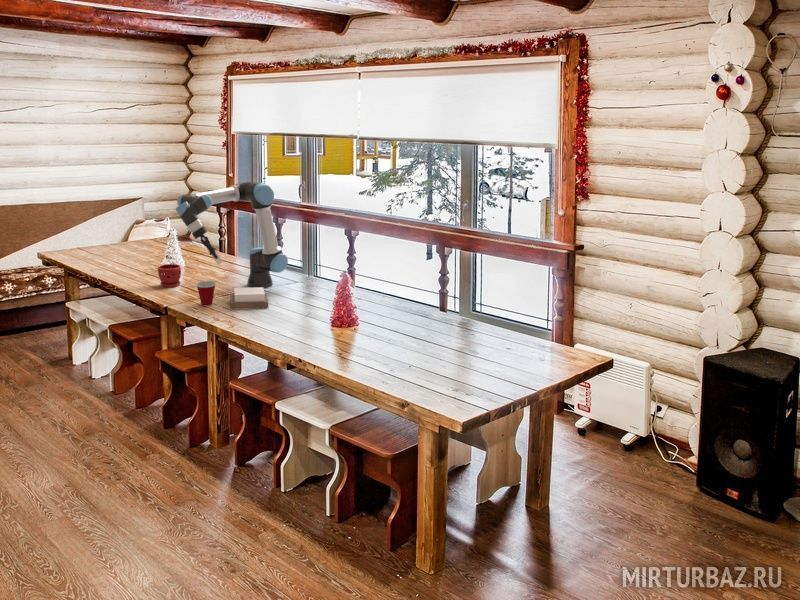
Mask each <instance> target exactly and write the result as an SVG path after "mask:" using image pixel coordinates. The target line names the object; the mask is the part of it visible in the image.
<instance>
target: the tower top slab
mask: <svg viewBox="0 0 800 600" xmlns="http://www.w3.org/2000/svg"><path fill="white" fill-rule="evenodd" d="M233 289H234V290H233V291H234V292H233V294H234V296H235V302H255V301H265V293H266V292H265V290H264V289H265V287H234V288H233Z"/></svg>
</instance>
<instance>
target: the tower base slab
mask: <svg viewBox="0 0 800 600" xmlns="http://www.w3.org/2000/svg"><path fill="white" fill-rule="evenodd" d="M264 293H265V301H255V302H235V296H234V293H231V294H230V310H236V309H235V308H249V309H268V308H269V298H268V294H267V293H266V292H264ZM263 307H264V308H263ZM267 307H268V308H267Z"/></svg>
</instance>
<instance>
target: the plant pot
mask: <svg viewBox="0 0 800 600" xmlns="http://www.w3.org/2000/svg"><path fill="white" fill-rule="evenodd" d="M157 273H158V278H159V280H160V284H159V285H161V287H164V288H176V287H178V286H180V285H181V281H180V279H181V277H182V276H181V274H182V267H181V265H180V264H177V263H176V264H174V263H168V264H162V265H159V266H158V267H157ZM175 286H176V287H175Z"/></svg>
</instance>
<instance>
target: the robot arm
mask: <svg viewBox="0 0 800 600" xmlns="http://www.w3.org/2000/svg"><path fill="white" fill-rule="evenodd" d="M274 198H275V191H274V189H273V188H272V187H271V186H270V185H269V184H265V183H263V182H254V181H246V182H240V183H236V184H232V185H230V186H228V187H226V188H225V187H224V188H220V189H214V190H210V191H209V190H208V191H204V192H197V193H194V194H193V193H192V194H181V195H179V196H178V197H177V200H176V201H177V202H176V204H177V205H178V206H176V207H175V211H176V214H178V216H179V217H180V219H181V220H182V222H183V223H184V224H185V226H186V230H189V232H190V233H191V235H192V236H193V238H194V239H195V240H197V239H199V238H200V242H201V243H202V244H203V246H204V247H206V248H207V250H208V251H209V256H212V258H213V259H214V261H215V263H216V264H217V265H220V264H222V263H223V260H222V258H221V257H220V255H219V254H218V252H217V251H216V250H217V249H216V247H214V246H212V244H211V242H210V241H211V240H209V238H208V236H206V235H205V234H206V233H207V232H208V230H207V229H206V228H205V226H204V225H203V223H202V221H201V220H200V218H199V215H200V214H202V213H203V212H205V211H207V210H208V209H209V208H211V207H212V205H216V204H220V203H226V202H232V201H233V202H247V203H250V204H251V209H253V210H254V211H255V213H256V214H255V215H256V220H257V224H258V229H259V232H260V233H259V234H260V238H261V242H262V246H259V247H253V248H250V250H249V275H248V278H247V281H246V282H247V284H246V285H247V287H249V288H255V287H263V288H268V287H269V286H270V287H271V286H273V278H272V276H271V272H272V273H276V274H277V273H279V274H280V273H281V272H282V273H283V272H284V271H285V270H286V268H287V267H288V263H289V261H288V260H289V259H288V257H287V255H286V254H284V253H283V250H282V249H283V248H282V247H281V246H280V245H279V243H278V239H277V233H276V229H275V225H274V219H273V215H272V210H271V207H272V206H273V202H274ZM270 287H269V288H270Z"/></svg>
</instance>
